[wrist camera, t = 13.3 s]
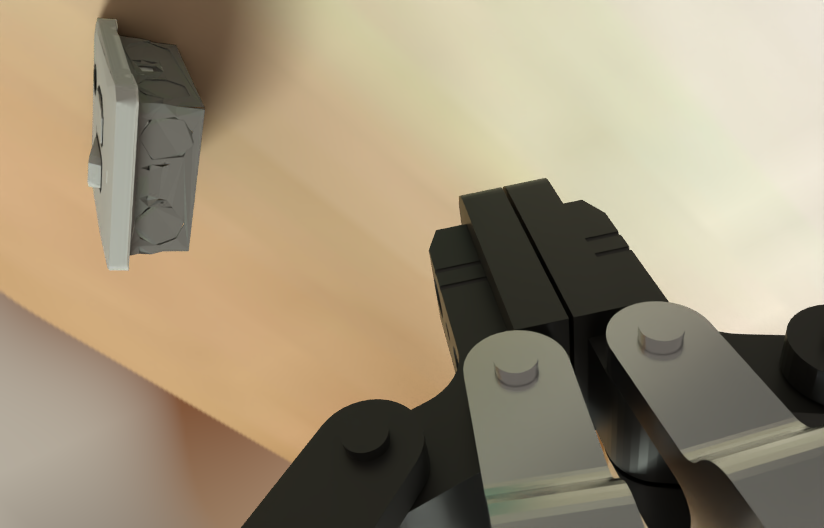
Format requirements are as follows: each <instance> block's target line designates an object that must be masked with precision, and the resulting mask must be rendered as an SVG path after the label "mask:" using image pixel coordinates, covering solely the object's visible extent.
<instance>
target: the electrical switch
mask: <svg viewBox="0 0 824 528" xmlns="http://www.w3.org/2000/svg"><path fill="white" fill-rule="evenodd" d="M117 29H118V25H117V19H105V18H98V19H97V23H96V28H95V37H94V85H93V132H92V149H91V153H90V156H89V163H88V185H89V187H93V192H94V199H95V205H96V211H97V218H98V224H99V230H100V236H101V240H102V245H103V249H104V254H105V258H106V263H107V267H108V269H109V270H129V256H130V255H135V254H154V253H158V252H162V251H189V243H190V234H191V226H192V217H193V208H194V200H195V191H196V182H197V173H198V165H199V156H200V147H201V139H202V130H203V121H204V113H205V109H202V108H190V107H204V105H203V103H202V101H201V99H200V97H199V94H198V92H197V90H196V88H195V86H194V83H193V81H192V79H191V77H190V75H189V73H188V70H187V68H186V66H185V64H184V62H183V60H182V57H181V55H180V53H179V51H178V49H177V47H176V45H170V44H162V43H153V42H151V41H149V40H144V39H139V38H129V37H124V36H120V35H118V33H117ZM178 106H182V107H178ZM191 130H192V131H193V132H192V131H191ZM165 164H170V165H165ZM183 223H184V225H183ZM182 225H183V226H182ZM181 227H182V228H181Z"/></svg>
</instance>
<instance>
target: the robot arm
mask: <svg viewBox="0 0 824 528" xmlns="http://www.w3.org/2000/svg"><path fill="white" fill-rule="evenodd" d="M459 208H460V216H461V223H462V225H459V226H455V227H450V228H445V229H440V230H436V232H435V235H434V238H433V240H432V243H431V246H430V249H429V253H430V259H431V265H432V271H433V277H434V283H435V289H436V295H437V300H438V306H439V312H440V318H441V322H442V325H443V329H444V333H445V336H446V339H447V344H448V347H449V351H450V354H451V357H452V362H453V365H454V369H455V373H456V374H455V376H454V378H453V379H452V381H451V382H450V383H449V385H448V386H447V387H446V388H445V389H444V390H443V391H442V392H441V393H439V394H438V395H437V396H436V397H434V398H432V399H431V400H429V401H427V402H425V403H423V404H422V405H420V406H418V407H416V408H414V409H412V410H410V409H409V408H407V407H406V406H404V405H402V404H399V403H397V402H393V401H389V400H381V399H375V400H366V401H360V402H357V403H354V404H351V405H349V406H347V407H344V408H343V409H341V410H339V411H338V412H336V413H335V414H333V415H332V416H331V417H330V418H329V419H328V420H327V421H326V422H325V423H324V424H323V425H322V426H321V427H320V429H319V430H318V431H317V433H316V434H315V435H314V436H313V438H312V439H311V440H310V441H309V443H308V444H307V445H306V446H305V448H304V449H303V450H302V451H301V453H300V454H299V455H298V456H297V458H296V459H295V460H294V461H293V463H292V464H291V465H290V467H289V468H288V469H287V470H286V472H285V473H284V474H283V475H282V477H281V478H280V479H279V481H278V482H277V483H276V484H275V485H274V487H273V488H272V489H271V490H270V492H269V493H268V494H267V496H266V497H265V498H264V499H263V501H262V502H261V503H260V504H259V506H258V507H257V508H256V509H255V511H254V512H253V513H252V515H251V516H250V517H249V518H248V519H247V521H246V522H245V523H244V525H243V526H242V527H241V528H824V305H817V306H813V307H809V308H807V309H804V310H802V311H800V312H799V313H797V314H796V315H794V317H793V318H792V319H791V320H790V322H789V324H788V326H787V330H786V335H752V334H731V333H724V332H718V331H717V330H716V328H715V327H714V326H713V325H712V324H711V323H710V322H709V321H708V320H707V319H706V318H705V317H704V316H702V315H701V314H699V313H698V312H696V311H694V310H692V309H690V308H688V307H685V306H682V305H679V304H675V303H670V302H668V300H667V299H666V297H665V296H664V295H663V293H662V292H661V290H660V289H659V288H658V286H657V285H656V283H655V282H654V281H653V279H652V278H651V276H650V275H649V274H648V272H647V271H646V269H645V268H644V267H643V265H642V264H641V262H640V261H639V260H638V258H637V257H636V255H635V254H634V253H633V251H632V250H629V246H628V244H627V243H626V241H625V240H624V239H623V237H622V236H621V235H619V234H618V230H617V229H616V227H615V226H614V225H613V223H612V222H611V221H610V219H609V218H608V216H607V215H606V214H605V213H604V212H602V211H601V210H599V209H597V208H595V207H594V206H592V205H590V204H588V203H587V202H585V201H583V200H579V201H574V202H569V203H564V204H563V203H562V201H561V200H560V198H559V196H558V195H557V193H556V192H555V190H554V189H553V187H552V185H551V184H550V182H549V181H548V180H547V179H546V178H543V179H538V180H533V181H528V182H524V183H519V184H514V185H509V186H504V187H503V189H502V188H501V187H500V188H495V189H491V190H486V191H481V192H476V193H471V194H466V195H462V196H459ZM595 430H597V432H598V435H599V437H600V439H601V441H602V443H603V445H604V454H603V451H602V448H601V446H600V443H599V440H598V437H597V435H596V432H595Z"/></svg>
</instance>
